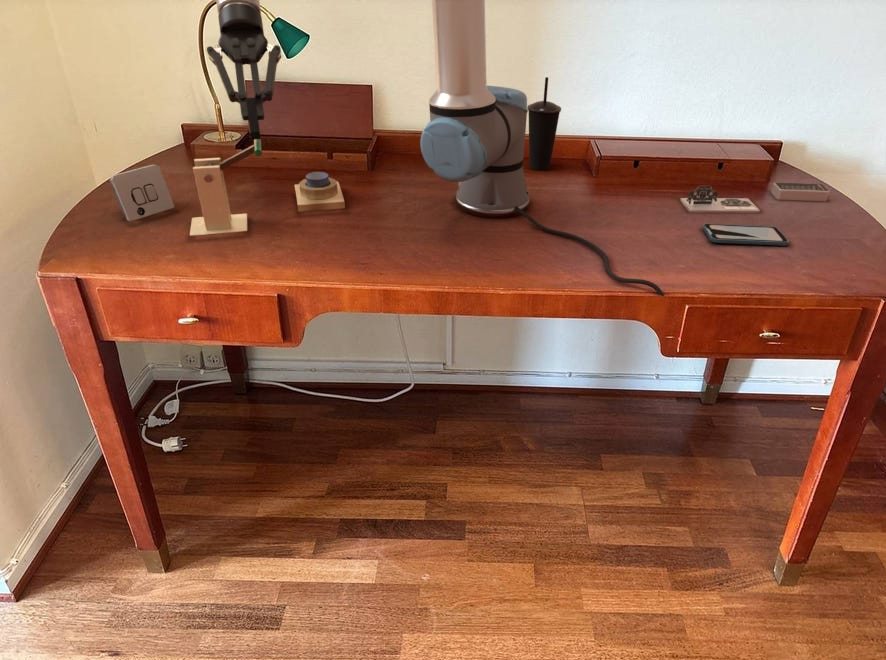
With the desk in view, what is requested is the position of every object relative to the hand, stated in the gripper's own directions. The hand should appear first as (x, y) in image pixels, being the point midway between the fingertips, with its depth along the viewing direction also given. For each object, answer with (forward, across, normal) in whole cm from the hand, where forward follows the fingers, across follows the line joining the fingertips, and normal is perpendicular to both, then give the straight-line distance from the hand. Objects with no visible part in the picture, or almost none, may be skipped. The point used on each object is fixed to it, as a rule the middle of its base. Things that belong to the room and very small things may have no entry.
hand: (255, 135), depth 121 cm
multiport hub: (+18, -113, -6) cm, 114 cm away
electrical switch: (+6, +23, -19) cm, 30 cm away
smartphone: (+29, -88, +5) cm, 93 cm away
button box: (+6, -10, -18) cm, 22 cm away
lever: (+4, +4, -3) cm, 7 cm away
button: (+3, -10, -15) cm, 18 cm away
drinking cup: (-3, -62, -27) cm, 68 cm away
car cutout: (+19, -92, -6) cm, 94 cm away
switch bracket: (+12, +9, -12) cm, 19 cm away
